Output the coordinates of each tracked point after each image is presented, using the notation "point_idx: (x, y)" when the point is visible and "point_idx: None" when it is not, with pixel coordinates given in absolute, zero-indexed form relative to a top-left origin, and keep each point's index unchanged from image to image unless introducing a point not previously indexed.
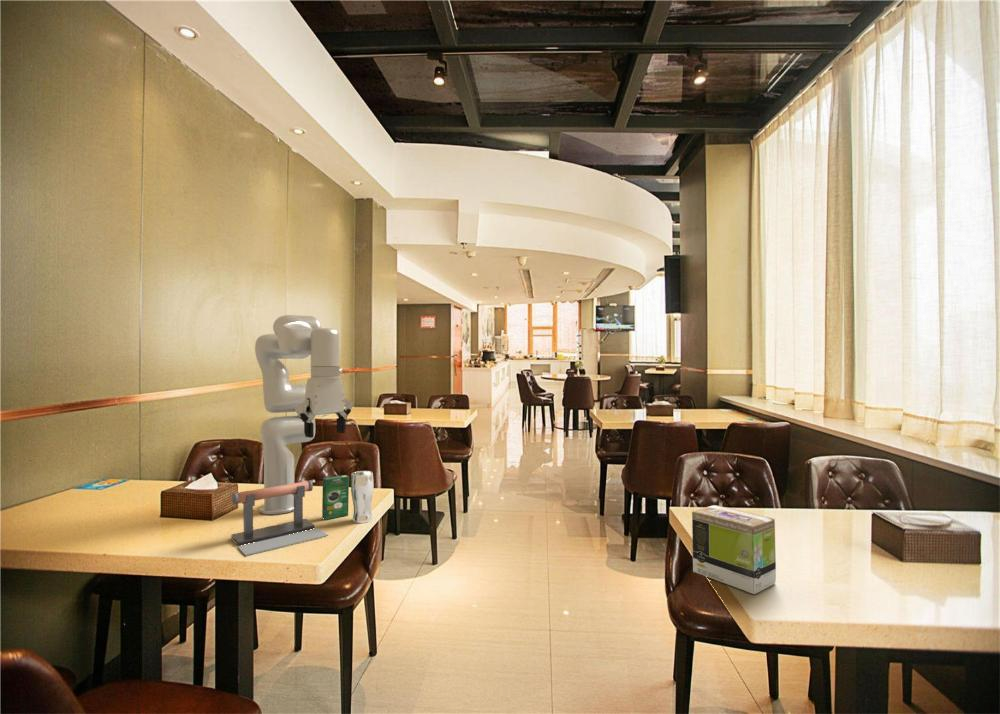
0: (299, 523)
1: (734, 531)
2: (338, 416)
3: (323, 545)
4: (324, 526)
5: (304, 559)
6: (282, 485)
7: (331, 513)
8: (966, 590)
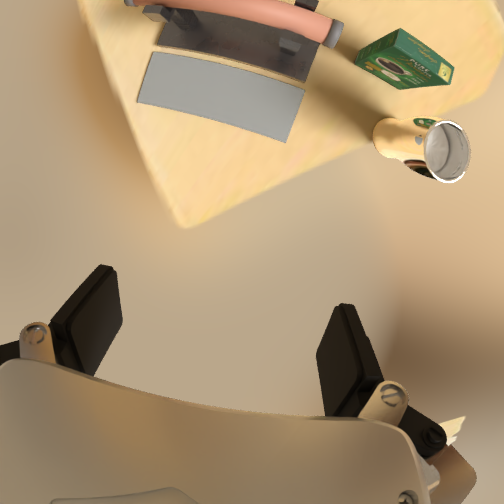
0: (287, 53)
1: None
2: (366, 402)
3: (245, 173)
4: (326, 89)
5: (183, 199)
6: (252, 2)
7: (370, 69)
8: None
